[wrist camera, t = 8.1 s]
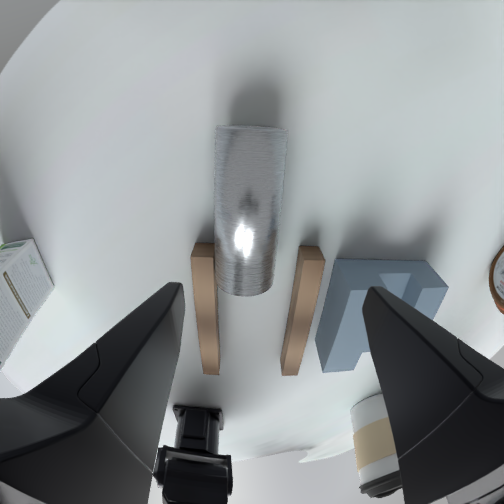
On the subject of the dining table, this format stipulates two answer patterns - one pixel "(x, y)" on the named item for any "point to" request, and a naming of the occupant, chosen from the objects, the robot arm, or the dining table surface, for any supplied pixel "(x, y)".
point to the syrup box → (20, 291)
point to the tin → (497, 280)
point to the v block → (352, 298)
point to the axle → (247, 206)
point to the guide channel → (299, 312)
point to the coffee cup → (375, 448)
